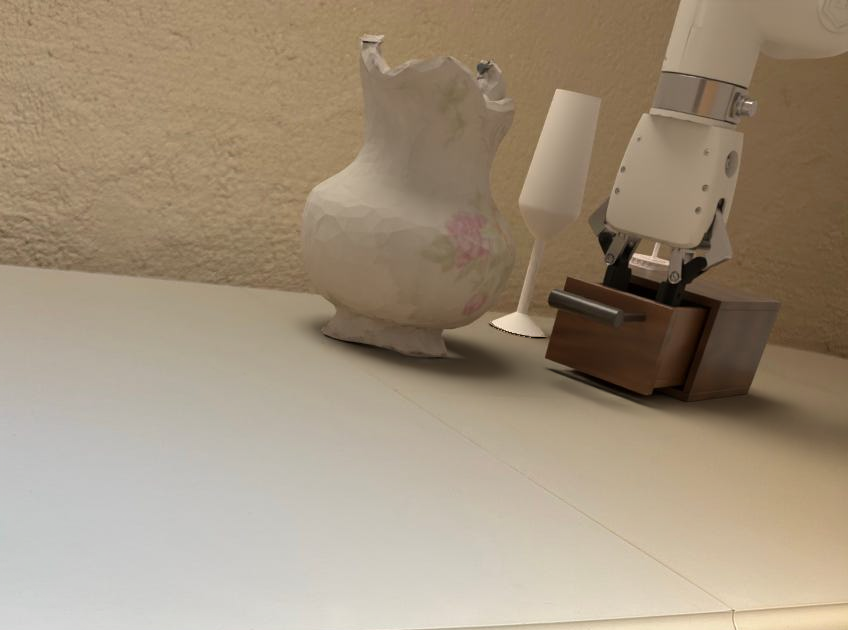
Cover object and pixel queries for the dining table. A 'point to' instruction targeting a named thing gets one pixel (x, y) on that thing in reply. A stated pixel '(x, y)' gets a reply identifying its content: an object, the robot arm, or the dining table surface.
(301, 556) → the dining table surface
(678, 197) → the robot arm
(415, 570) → the dining table surface
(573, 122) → the champagne flute
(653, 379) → the drawer
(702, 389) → the cabinet
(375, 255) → the ceramic pitcher
